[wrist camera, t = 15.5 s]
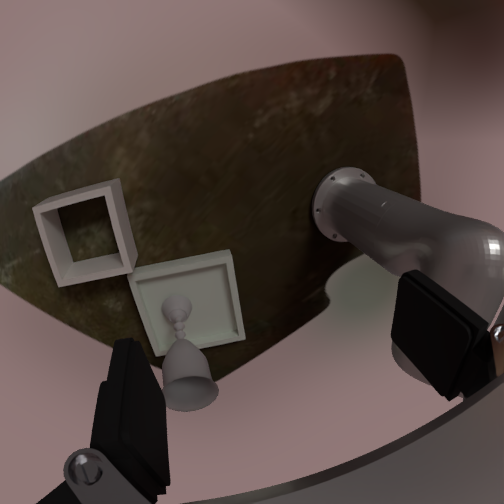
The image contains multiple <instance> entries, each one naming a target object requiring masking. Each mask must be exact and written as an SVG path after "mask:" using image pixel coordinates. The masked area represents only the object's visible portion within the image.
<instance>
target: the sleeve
mask: <svg viewBox="0 0 504 504" xmlns="http://www.w3.org/2000/svg"><path fill="white" fill-rule="evenodd" d="M104 195H105V198H106V203H107V207H108V211H109V215H110V219H111V223H112V227H113V230H114V234H115V238H116V241H117V245H118V249H119V252H120V253H115V254H111V255H106V256H101V257H97V258H92V259H88V260H83V261H79V262H74V263H73V260H72V257H71V254H70V251H69V248H68V244H67V241H66V238H65V235H64V231H63V228H62V225H61V221H60V217H59V214H58V210H57V208H59V207H63V206H66V205H70V204H73V203H77V202H81V201H84V200H88V199H92V198H96V197H100V196H104ZM32 209H33V212H34V216H35V220H36V223H37V226H38V230H39V233H40V236H41V239H42V243H43V246H44V249H45V252H46V254H47V257H48V260H49V263H50V266H51V269H52V271H53V274H54V277H55V279H56V282H57V284H58V287H63V286H68V285H73V284H77V283H82V282H87V281H92V280H97V279H102V278H107V277H112V276H117V275H122V274H127V273H132V272H133V270H134V267H135V263H136V260H137V256H138V254H137V250H136V246H135V242H134V239H133V235H132V231H131V227H130V223H129V219H128V215H127V210H126V206H125V202H124V197H123V193H122V188H121V183H120V178H118V179H114V180H110V181H106V182H102V183H99V184H95V185H91V186H87V187H84V188H80V189H76V190H73V191H69V192H66V193H63V194H59V195H56V196H53V197H49V198H47V199H46V200H44V201H43V202H41V203H39V204H38V205H36V206H35V207H33V208H32Z"/></svg>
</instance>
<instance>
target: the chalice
mask: <svg viewBox="0 0 504 504" xmlns="http://www.w3.org/2000/svg"><path fill="white" fill-rule="evenodd" d="M191 311H192V304H191V301H190V300H189V299H188V298H186V297H184V296H181V295H173V296H170V297H168V298H167V299H165V301H164V302H163V304H162V312H163V314H164V315H165V317H166V318H167V319H168V320H169V321H170V322H172V323H175V324H174V326H173V328H174V330H175V331H177V332H176V333H175V337H176V338H177V340H176V341H175V342H174V343H173V344H172V346H171V347H170V349H169V350H168V352H167V354H166V357H165V359H164V362H163V364H162V373H163V385H164V387H163V389H162V392H163V394H164V397H165V401H166V407H168V408H169V409H172V410H175V411H183V412H188V411H195V410H199V409H202V408H204V407H206V406H208V405H210V404H211V403H212V402H213V401H214V400H215V399H216V397H217V396H218V392H219V389H218V386H217V384H216V383H215V382H214V381H212V378H211V374H210V370H209V366H208V362H207V359H206V357H205V356H204V355H203V353H202V352H201V351H200V350H199V349H198V348H197V347H196V346H195V345H194V344H193V343H191V342H190V341H189V340H187V339H184V337H185V336H186V334H185V332H184V331H183V330H184V328H185V325H184V324H183V322H185V321H186V320H187V319H188V317H189V315H190V313H191Z"/></svg>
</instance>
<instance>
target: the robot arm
mask: <svg viewBox="0 0 504 504" xmlns="http://www.w3.org/2000/svg"><path fill="white" fill-rule="evenodd" d="M331 177H332V179H331ZM330 179H331V180H330ZM317 209H318V210H317ZM316 210H317V211H316ZM312 215H313V220H314V222H315V225H316V226H317V228H318V229H319V231H320V232H321V233H322V234H324V235H325V236H326V237H328V238H329V239H331V240H333V241H338V242H348V241H349V242H350V243H352V244H353V245H354V246H356V247H357V248H358V249H360V250H361V251H362V252H364V253H365V254H366V255H368V256H369V257H370V258H372V259H373V260H374V261H375V262H377V263H378V264H379V265H381V266H382V267H383V268H385V269H386V270H387V271H389V272H390V273H392V274H394V275H397V276H400V277H401V278H400V279H399V282H398V290H397V298H396V305H395V311H394V318H393V324H392V330H391V338H392V355H393V357H394V360H395V361H396V363H397V364H398V366H399V367H401V369H402V370H404V371H405V372H406V373H407V374H409V375H410V376H412V377H414V378H415V379H417V380H419V381H421V382H424V383H426V384H428V385H431V386H433V387H434V388H435V390H436V391H437V392H438V393H439V394H440V395H441V396H445V397H446V399H447V400H448V401H451V400H452V399H454V398H455V397H457V396H459V397H462V398H463V402H461V403H460V404H458V405H457V406H455V407H454V408H452V409H450V410H449V411H447V412H446V413H444V414H443V415H441V416H439V417H437V418H436V419H434V420H432V421H430V422H429V423H427V424H426V425H424V426H422V427H420V428H418V429H416V430H414V431H412V432H411V433H409V434H407V435H405V436H403V437H401V438H399V439H397V440H395V441H393V442H391V443H389V444H387V445H385V446H383V447H381V448H378V449H376V450H374V451H372V452H370V453H367V454H365V455H362V456H360V457H358V458H355V459H353V460H350V461H348V462H345V463H343V464H340V465H338V466H335V467H332V468H329V469H327V470H324V471H321V472H318V473H315V474H312V475H309V476H306V477H303V478H299V479H296V480H293V481H290V482H286V483H282V484H279V485H275V486H271V487H267V488H263V489H259V490H254V491H250V492H245V493H241V494H236V495H231V496H226V497H221V498H215V499H209V500H202V501H195V502H189V503H183V504H504V305H503V307H502V310H501V312H500V314H499V316H498V318H497V320H496V322H495V324H494V326H493V327H492V328H491V330H490V332H488V331H487V329H488V327H489V326H490V324H491V322H492V320H493V318H494V316H495V314H496V312H497V310H498V308H499V306H500V304H501V302H502V299H503V297H504V232H503V231H501V230H500V229H499V228H497V227H495V226H493V225H492V224H489V223H487V222H484V221H481V220H478V219H473V218H469V217H465V216H460V215H456V214H452V213H449V212H445V211H442V210H439V209H437V208H434V207H431V206H429V205H426V204H424V203H421V202H419V201H416V200H414V199H411V198H409V197H406V196H404V195H401V194H399V193H396V192H394V191H391V190H388V189H386V188H383V187H380V186H377V185H376V183H375V181H374V180H373V179H372V177H371V176H370V175H369V174H367V173H366V172H365V171H363V170H361V169H358V168H354V167H342V168H339V169H335V170H334V171H332V172H330V173H329V174H328V175H326V176H325V177H324V178H323V179H322V181H321V182H320V183H319V185H318V186H317V188H316V190H315V193H314V196H313V200H312ZM63 471H64V477H65V479H66V480H65V481H64V482H63V483H61V484H60V485H59V486H58V487H57V488H56V489H54V490H53V491H52V492H50V493H49V494H48V495H46V496H45V497H44V498H43V499H41V500H40V501H39V502H38V503H36V504H155V503H156V502H157V501H158V500H157V495H163V494H166V486H170V471H169V458H168V443H167V424H166V401H165V397H164V394H163V392H162V390H161V388H160V386H159V384H158V382H157V379H156V377H155V375H154V373H153V371H152V369H151V366H150V364H149V362H148V360H147V357H146V355H145V353H144V351H143V348H142V346H141V344H140V342H139V341H134V339H133V338H125V339H119V340H116V341H115V343H114V347H113V352H112V357H111V361H110V366H109V371H108V377H107V381H103V382H102V383H101V384H100V388H99V393H98V398H97V404H96V409H95V415H94V422H93V428H92V435H91V442H90V448H84V449H79V450H77V451H76V452H74V453H72V454H71V455H70V456H69V458H68V459H67V461H66V462H65V465H64V470H63Z"/></svg>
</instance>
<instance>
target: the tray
mask: <svg viewBox="0 0 504 504" xmlns="http://www.w3.org/2000/svg"><path fill="white" fill-rule="evenodd" d="M127 278H128V281H129V284H130V287H131V290H132V293H133V296H134V299H135V302H136V305H137V308H138V311H139V313H140V316H141V319H142V322H143V324H144V327H145V330H146V332H147V335H148V338H149V340H150V343H151V345H152V348H153V350H154V353H155V355H156V356H162V355H166V354H167V352H168V350H169V349H170V347H171V346H172V344H173V343H174V342H175V341H176V340H177V338H176V337H175V333H176V332H177V331H175V330H174V328H173V326H174V324H175V323H172V322H170V321H169V320H168V319H167V318H166V317H165V315H164V314H163V312H162V304H163V302H164V301H165V299H167V298H168V297H170V296H173V295H181V296H184V297H186V298H188V299H189V300H190V301H191V304H192V311H191V313H190V315H189V317H188V319H187V320H186V321H185V322H183V324H184V325H185V328H184V330H183V331H184V332H185V334H186V336H185V337H184V339H187V340H189V341H190V342H191V343H193V344H194V345H195V346H196V347H197V348H198V349H201V348H206V347H211V346H216V345H221V344H226V343H230V342H235V341H239V340H244V339H245V333H244V327H243V321H242V315H241V309H240V303H239V297H238V291H237V285H236V279H235V272H234V266H233V260H232V255H231V252H230V250H229V249H228V250H223V251H218V252H213V253H208V254H202V255H197V256H192V257H187V258H182V259H177V260H172V261H167V262H162V263H157V264H152V265H147V266H142V267H137V268H134V270H133V272H132V273H128V275H127Z"/></svg>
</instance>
